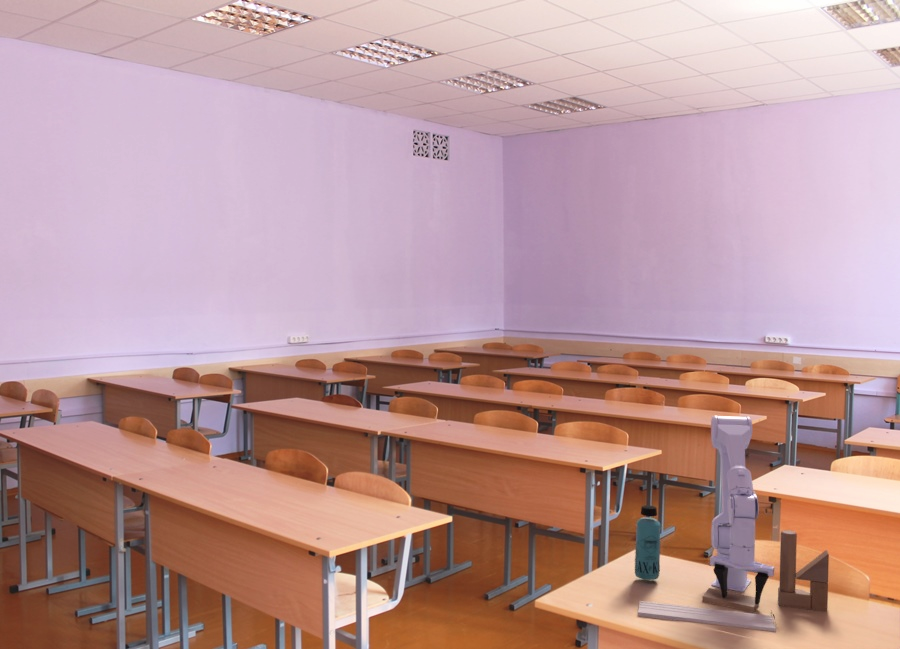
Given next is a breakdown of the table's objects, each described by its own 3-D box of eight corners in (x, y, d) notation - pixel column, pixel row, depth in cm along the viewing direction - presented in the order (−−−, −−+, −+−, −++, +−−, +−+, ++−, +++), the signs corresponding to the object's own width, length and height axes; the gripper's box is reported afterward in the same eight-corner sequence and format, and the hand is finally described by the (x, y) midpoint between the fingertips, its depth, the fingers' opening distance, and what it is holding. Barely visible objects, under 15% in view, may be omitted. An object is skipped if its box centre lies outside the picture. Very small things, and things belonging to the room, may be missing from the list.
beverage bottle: (629, 578, 208) (631, 504, 207) (651, 576, 210) (652, 502, 209) (642, 587, 202) (644, 510, 201) (665, 584, 203) (666, 508, 203)
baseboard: (639, 602, 192) (638, 618, 183) (640, 591, 192) (638, 606, 183) (770, 617, 184) (776, 635, 175) (771, 605, 184) (776, 622, 174)
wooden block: (827, 612, 186) (829, 538, 186) (778, 606, 190) (780, 533, 189) (825, 607, 190) (827, 533, 189) (777, 601, 193) (779, 529, 193)
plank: (708, 593, 197) (708, 587, 197) (758, 604, 190) (759, 598, 190) (702, 602, 192) (702, 596, 192) (753, 613, 185) (753, 607, 185)
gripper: (707, 542, 189) (706, 598, 190) (770, 553, 182) (769, 611, 182) (714, 535, 195) (713, 589, 196) (776, 546, 187) (775, 602, 188)
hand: (740, 599), depth 189 cm, fingers open, 7 cm apart
